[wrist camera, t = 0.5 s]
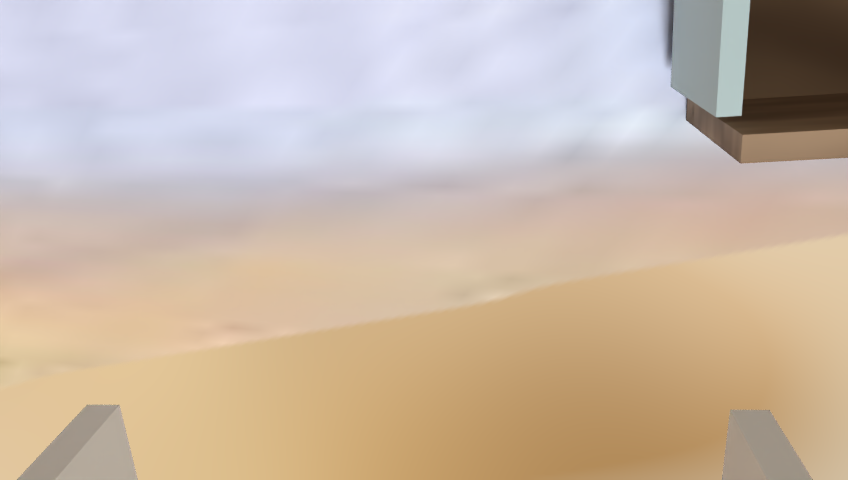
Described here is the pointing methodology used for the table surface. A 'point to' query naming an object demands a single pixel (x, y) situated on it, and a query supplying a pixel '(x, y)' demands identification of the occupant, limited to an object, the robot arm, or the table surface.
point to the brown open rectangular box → (788, 85)
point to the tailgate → (710, 53)
